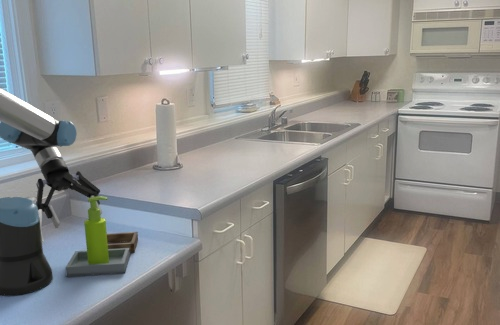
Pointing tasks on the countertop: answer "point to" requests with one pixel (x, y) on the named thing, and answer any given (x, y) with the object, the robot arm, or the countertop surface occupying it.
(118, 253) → the tray
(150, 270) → the countertop surface
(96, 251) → the soap dispenser
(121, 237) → the holder collar
